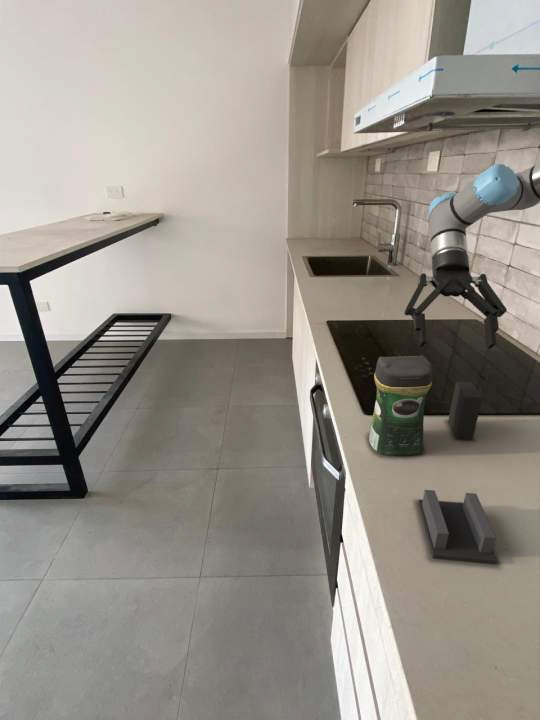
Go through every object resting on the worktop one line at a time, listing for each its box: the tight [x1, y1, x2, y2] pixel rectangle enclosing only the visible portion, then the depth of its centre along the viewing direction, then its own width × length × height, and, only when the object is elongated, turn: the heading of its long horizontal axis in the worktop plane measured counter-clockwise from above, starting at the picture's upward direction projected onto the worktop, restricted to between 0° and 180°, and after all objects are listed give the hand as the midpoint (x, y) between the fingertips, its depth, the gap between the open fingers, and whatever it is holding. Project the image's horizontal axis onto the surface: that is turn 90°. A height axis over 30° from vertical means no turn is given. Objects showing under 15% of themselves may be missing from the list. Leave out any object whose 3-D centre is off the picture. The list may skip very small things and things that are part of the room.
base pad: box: [417, 489, 497, 565], centre depth 57 cm, size 8×10×4 cm
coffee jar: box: [368, 354, 433, 457], centre depth 72 cm, size 10×8×19 cm
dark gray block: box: [447, 380, 483, 441], centre depth 77 cm, size 3×6×10 cm, turn 172°
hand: (456, 345), depth 82 cm, fingers open, 13 cm apart
